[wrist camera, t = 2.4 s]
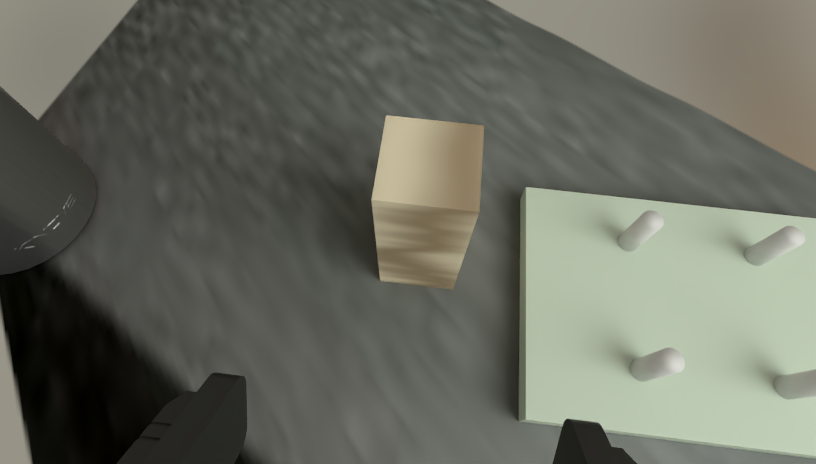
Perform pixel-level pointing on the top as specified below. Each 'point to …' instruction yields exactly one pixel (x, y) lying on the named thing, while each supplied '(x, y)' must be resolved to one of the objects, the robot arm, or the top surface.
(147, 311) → the top surface
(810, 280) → the peg board
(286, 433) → the top surface
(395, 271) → the ash block
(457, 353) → the top surface
